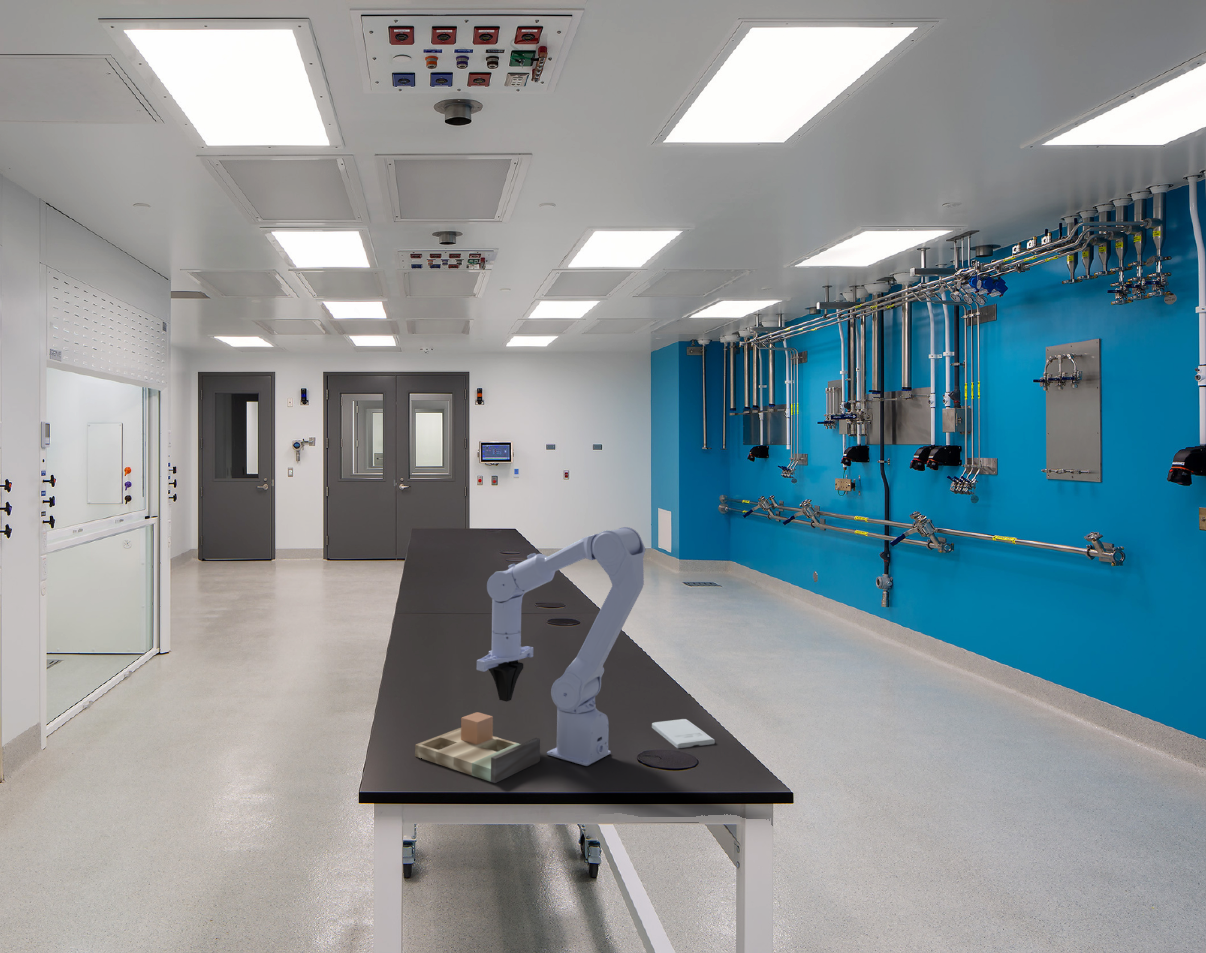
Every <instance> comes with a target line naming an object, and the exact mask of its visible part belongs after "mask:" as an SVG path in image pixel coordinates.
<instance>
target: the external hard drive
mask: <svg viewBox="0 0 1206 953" xmlns="http://www.w3.org/2000/svg"><path fill="white" fill-rule="evenodd" d="M651 728H652V729H653V730H654V731H655V732H657V733H658V734H659V735H660V736H661V737H663V738H664V739H665V740H666V741H668V743H670V744H671V745H673V746H674V747H675V748H676V749H683V748H691V747H695V746H706V745H707V746H708V745H715V742H716V741H715V739H714V738H713V737H711V736H710V735H709V734H707V733H706V732H705V731H703V730H702V729H701V728H699V727H698V726H697V725H695V724H694V723H692V722H691V721H690V720H688V719H687V718H681V719H673V720H672V719H671V720H663V721H662V720H661V721H655V722H652V723H651Z"/></svg>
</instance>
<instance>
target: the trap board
mask: <svg viewBox="0 0 1206 953" xmlns="http://www.w3.org/2000/svg"><path fill="white" fill-rule="evenodd" d="M414 748H415V749H414V757H416V758H418V759H419V758H420V759H421V758H422V759H421V760H425V761H428V762H431V763H434V764H437V765H440V766H443V767H446V768H449V769H451V770H454V771H458V772H461V773H463V774H466V775H469V776H473V777H476V778H478V779H480V780H481V779H482V780H484V781H488V782H490V783H493V784H496V783H499V782H500V781H503V780H505V779H507V778H509V777H510V776H513V775H515V774H518V773H520V772H521V771H523V770H525V769H527V768H529V767H531V766H534V765H536V764H538V763H539V762H540V761H541V739H540V738H538V737H535V738H532V739H530V740H527V741H525V742H523V743H518V742H514V741H511V740H507V739H504V738H500V737H498V736H494V735H493V738H492V739H490V740H487V741H485V742H482V743H480V744H477V745H476V744H473V743H470V742H467V741H464V740H461V727H458V728H456V729H453V730H451V731H448V732H445V733H443V734H439V735H437V736H435V737H432V738H429V739H426V740H424V741H421V742H419V743H416V744H415V746H414Z"/></svg>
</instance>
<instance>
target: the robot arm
mask: <svg viewBox="0 0 1206 953" xmlns="http://www.w3.org/2000/svg"><path fill="white" fill-rule="evenodd" d="M645 552H646V546H645V544H644V542H643V540H642V538H641V536H640V534H639V532H637V531H636V530H635V529H633V528H632V527H628V526H624V527H619V528H617V529H612V530H608V529H607V530H602V531H600V532H599V533H594V534H592V535H588V536H584V537H582V538H581V539H579V540H577V541H575V542H573V543H571V544H569V545H567V546H565V547H563V548H562V549H560V550H557V551H556V552H554V553H552V554H550V555H549V556H548V555H546V554H544V553H536V552H533V553H530V554H529V555H526V558H527V559H525V560H523V561H520V562H519V563H517V564H516V563H512V564H509V565H508V566H507V567H508V569H506V570H500V571H497V570H496V571H495V572H494V573H493V574H491V575H490V577H489V578H488V580H487V583H486V591H487V593H488V595H489V597H490V599H491V602H492V603H491V609H492V610H491V650H488V654H487V655H485V656H483V657H481V658H479V659H476V671H478V672H479V671H480V672H487V671H489V672H490V674H491V676H492V678H493V680H494V684H495V687H496V691H497V694H498V698H499V700H498V701H501V702H510V701H512V697H513V694H514V690H515V688H516V687H515V686H516V684H517V681H518V679H519V676H520V675H521V673H522V670H524V663H523V662H519V661H520V660H522V659H526V658H533V657H534V647H533V646H528V645H526V646H525V645H524V646H522V604H523V597H524V595H525V594H526V593H528V592H530V591H533V590H534V589H537V588H539V587H541V586H542V585H545V584H547V583H550V582H551V581H553V579H554V577H555V574H556V572H557V571H560V570H562V569H564V568H566V567H569V566H571V565H574V564H576V563H578V562H581V561H583V560H584V559H587V560H589V561H595V560H596V561H597V563H598V564H599V565H600V567H601V568H602V570H603V571H604V572H605V573H606V574H607V576H608V578H609V580H610V582H611V588H610V590H609V592H608V593H607V596H606V598H605V599H604V601H603V604H602V605H601V608H600V610H599V612H598V614H597V615H596V618H595V619H594V622H593V624H592V625H591V628H590V629H589V631H588V634H587V635H586V637H585V640H584V642H583V644H582V646H581V647H580V648H579V649H580V650H579V651H578V653H577V655H576V657H575V658H574V659H573V660H572V662H571V663H570V664H569V665H568V666H567V667H566V668H565V671H564V673H563V674H562V675H561V676H559V677H558V678H556V679H555V681H554V682H553V684H552V686H551V689H550V695H551V696H550V697H551V699H552V702H553V703H554V705H555V706H556V711H557V712H556V715H557V716H556V747H555V748H552V749H549V750H548V751H547V752H546V755H548V756H550V757H553V758H557V759H561V760H563V761H567V762H570V763H571V762H572V763H575V764H579V765H581V766H585V767H588V766H590V765H592V764H594V763H596V762H597V761H599V760H601V759H603V758H604V757H607V756H608V755H610V754H611V750H609V734H610V732H609V727H610V726H609V724H610V723H609V718H608V715H607V714H605V713H603V712H602V711H599V709H597V707H596V696H598V694H599V693H600V691H601V687H602V677H603V674H604V672H605V668H604V664H605V662H606V660H607V659H608V656H609V654H610V652H611V650H612V648H613V646H614V645H615V643H616V641H617V639H618V637H619V634H620V633H621V631H622V628H623V627H624V625H625V623H626V621H627V620H628V618H629V615H630V614H631V611H632V609H633V607H634V606H635V603H636V601H637V600H638V598H639V596H640V594H641V592H642V591H643V588H644V585H645V584H644V583H645V580H644V579H645V577H644V572H645V570H644V557H645V554H646V553H645Z"/></svg>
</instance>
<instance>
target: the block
mask: <svg viewBox="0 0 1206 953" xmlns="http://www.w3.org/2000/svg"><path fill="white" fill-rule="evenodd" d="M460 721H461V722H460V724H461V725H460V726H461V727H460V728H461V740H464V741H467V742H470V743H473V744H476V745H477V744H480V743H482V742H485V741H487V740H490V739H492V738H493V736H494V735H493V734H494V733H493V732H494V730H493V729H494V716H493V715H489V714H486V713H482V712H473V713H470V714H468V715H465V716H463V717H461V718H460Z"/></svg>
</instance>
